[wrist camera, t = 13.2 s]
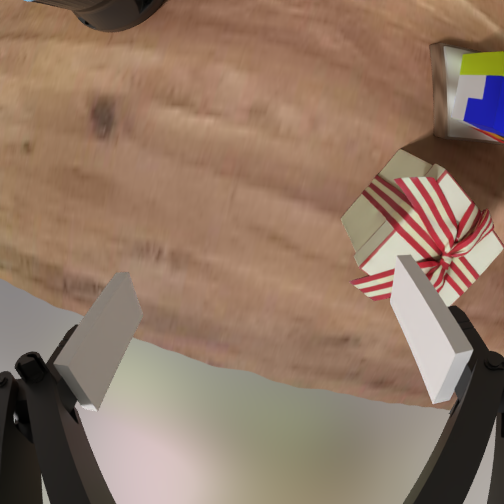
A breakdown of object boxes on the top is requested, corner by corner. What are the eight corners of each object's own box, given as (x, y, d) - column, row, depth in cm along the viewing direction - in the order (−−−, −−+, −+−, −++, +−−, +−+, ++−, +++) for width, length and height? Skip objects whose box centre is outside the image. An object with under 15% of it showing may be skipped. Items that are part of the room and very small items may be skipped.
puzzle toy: (450, 117, 34) (492, 128, 26) (462, 54, 30) (505, 51, 21) (499, 141, 35) (541, 157, 26) (510, 83, 30) (553, 88, 21)
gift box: (378, 129, 40) (434, 151, 25) (459, 199, 44) (521, 247, 28) (313, 223, 47) (331, 287, 32) (398, 277, 51) (436, 346, 36)
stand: (429, 45, 33) (442, 42, 30) (498, 60, 32) (513, 60, 28) (433, 135, 39) (446, 139, 36) (500, 141, 38) (514, 146, 35)
